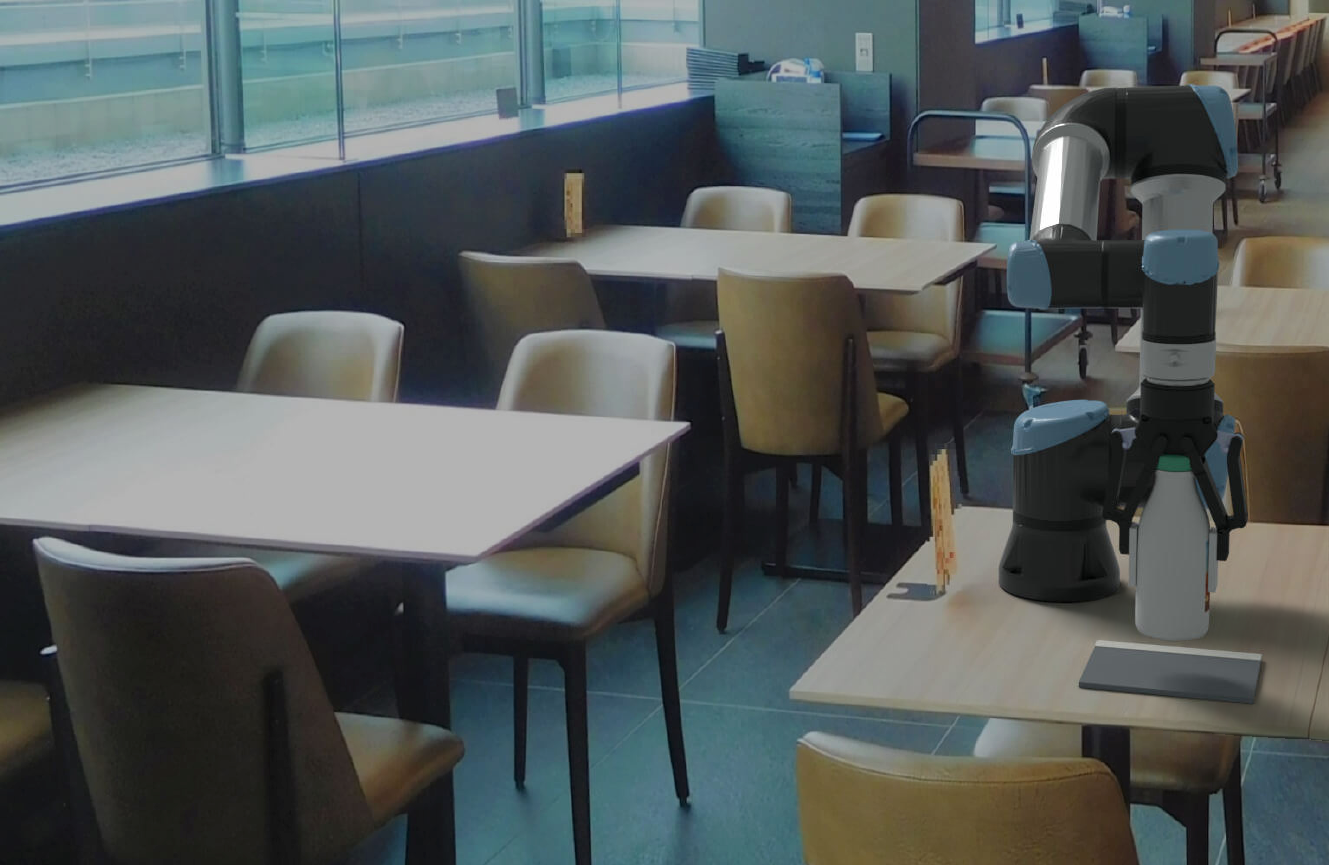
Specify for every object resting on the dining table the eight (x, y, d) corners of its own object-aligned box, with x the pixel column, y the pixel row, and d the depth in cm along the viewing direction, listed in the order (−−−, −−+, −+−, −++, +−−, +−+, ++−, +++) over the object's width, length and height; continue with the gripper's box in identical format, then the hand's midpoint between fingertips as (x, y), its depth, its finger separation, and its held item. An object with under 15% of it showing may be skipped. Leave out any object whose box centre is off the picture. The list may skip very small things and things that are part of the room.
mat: (1078, 687, 193) (1078, 680, 193) (1097, 645, 205) (1097, 639, 205) (1253, 703, 186) (1253, 697, 186) (1261, 660, 198) (1261, 654, 198)
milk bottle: (1197, 646, 189) (1202, 463, 184) (1125, 636, 193) (1129, 456, 188) (1217, 625, 195) (1222, 447, 190) (1147, 615, 199) (1151, 441, 194)
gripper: (1073, 382, 188) (1071, 588, 193) (1277, 388, 180) (1270, 603, 185) (1084, 368, 195) (1082, 568, 200) (1282, 374, 187) (1274, 582, 192)
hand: (1172, 585), depth 193 cm, fingers closed on milk bottle, 7 cm apart
